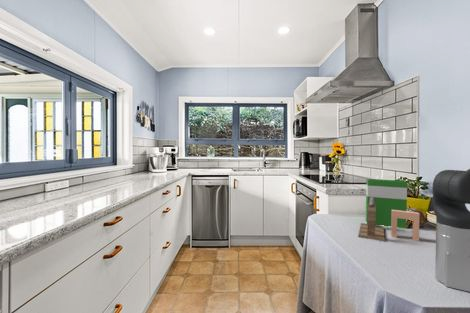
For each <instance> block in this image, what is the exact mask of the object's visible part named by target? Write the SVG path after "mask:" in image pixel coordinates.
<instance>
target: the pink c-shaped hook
mask: <svg viewBox="0 0 470 313" xmlns="http://www.w3.org/2000/svg"><path fill="white" fill-rule="evenodd" d="M419 215H420V214H419V213H418V212H409V211H400V210H392V218H391V227H390V228H391V230H390V237H391V238H396V237H397V238H398V228H397V218H401V219H406V220H407V219H409V220H413V224H412V228H411V229H412V233H411V234H412V235H411V238H412V240H413V241H414V242H415V241H416V242H419V241H420V226H419Z"/></svg>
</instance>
